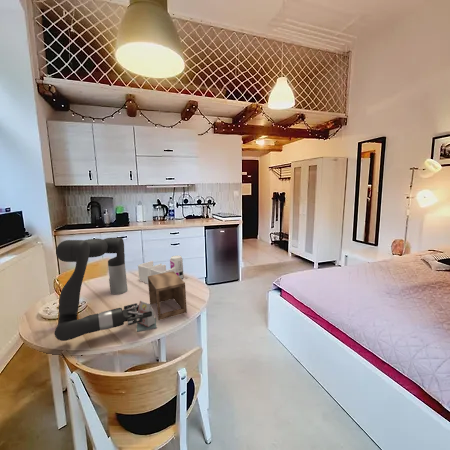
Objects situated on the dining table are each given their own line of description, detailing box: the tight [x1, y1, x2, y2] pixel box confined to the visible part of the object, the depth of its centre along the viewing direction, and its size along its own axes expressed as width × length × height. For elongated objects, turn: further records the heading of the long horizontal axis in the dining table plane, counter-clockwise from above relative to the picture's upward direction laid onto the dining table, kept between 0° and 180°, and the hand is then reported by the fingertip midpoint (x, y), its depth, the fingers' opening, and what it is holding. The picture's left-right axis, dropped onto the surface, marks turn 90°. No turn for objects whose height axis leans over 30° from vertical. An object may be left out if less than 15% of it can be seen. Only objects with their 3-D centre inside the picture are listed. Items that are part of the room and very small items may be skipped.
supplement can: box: [169, 255, 184, 280], centre depth 172 cm, size 8×8×15 cm
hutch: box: [147, 271, 188, 321], centre depth 131 cm, size 14×19×16 cm
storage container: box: [137, 260, 176, 285], centre depth 167 cm, size 25×11×11 cm, turn 51°
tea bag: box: [137, 300, 155, 327], centre depth 116 cm, size 4×7×10 cm, turn 57°
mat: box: [136, 317, 158, 333], centre depth 117 cm, size 8×8×1 cm
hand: (149, 309), depth 117 cm, fingers closed on tea bag, 7 cm apart
